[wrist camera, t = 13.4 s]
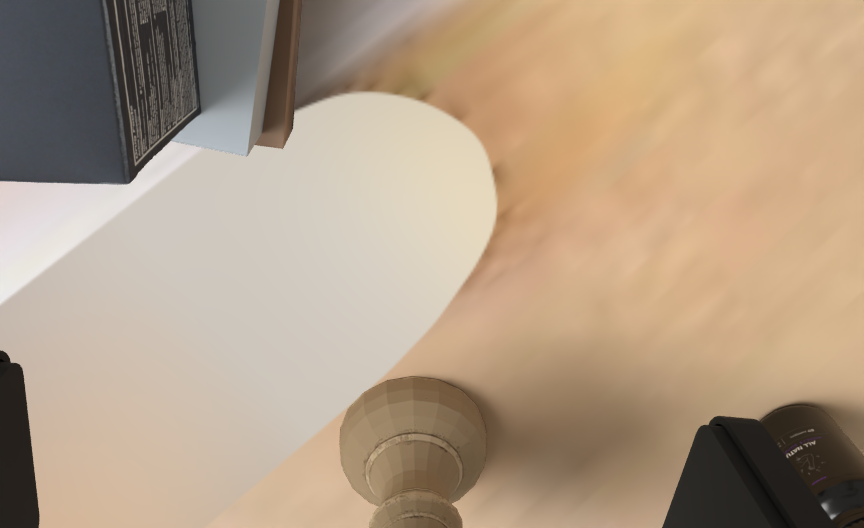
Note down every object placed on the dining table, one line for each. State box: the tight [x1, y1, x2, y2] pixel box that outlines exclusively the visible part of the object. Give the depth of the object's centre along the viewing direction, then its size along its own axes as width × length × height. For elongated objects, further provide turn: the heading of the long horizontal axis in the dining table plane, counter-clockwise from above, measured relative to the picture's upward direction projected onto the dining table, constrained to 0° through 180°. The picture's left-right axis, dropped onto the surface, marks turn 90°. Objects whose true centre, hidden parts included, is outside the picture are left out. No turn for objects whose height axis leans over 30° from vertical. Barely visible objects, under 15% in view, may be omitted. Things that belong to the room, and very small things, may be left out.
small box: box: [0, 0, 201, 184], centre depth 29 cm, size 11×6×10 cm, turn 178°
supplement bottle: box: [760, 405, 864, 528], centre depth 51 cm, size 7×7×12 cm
